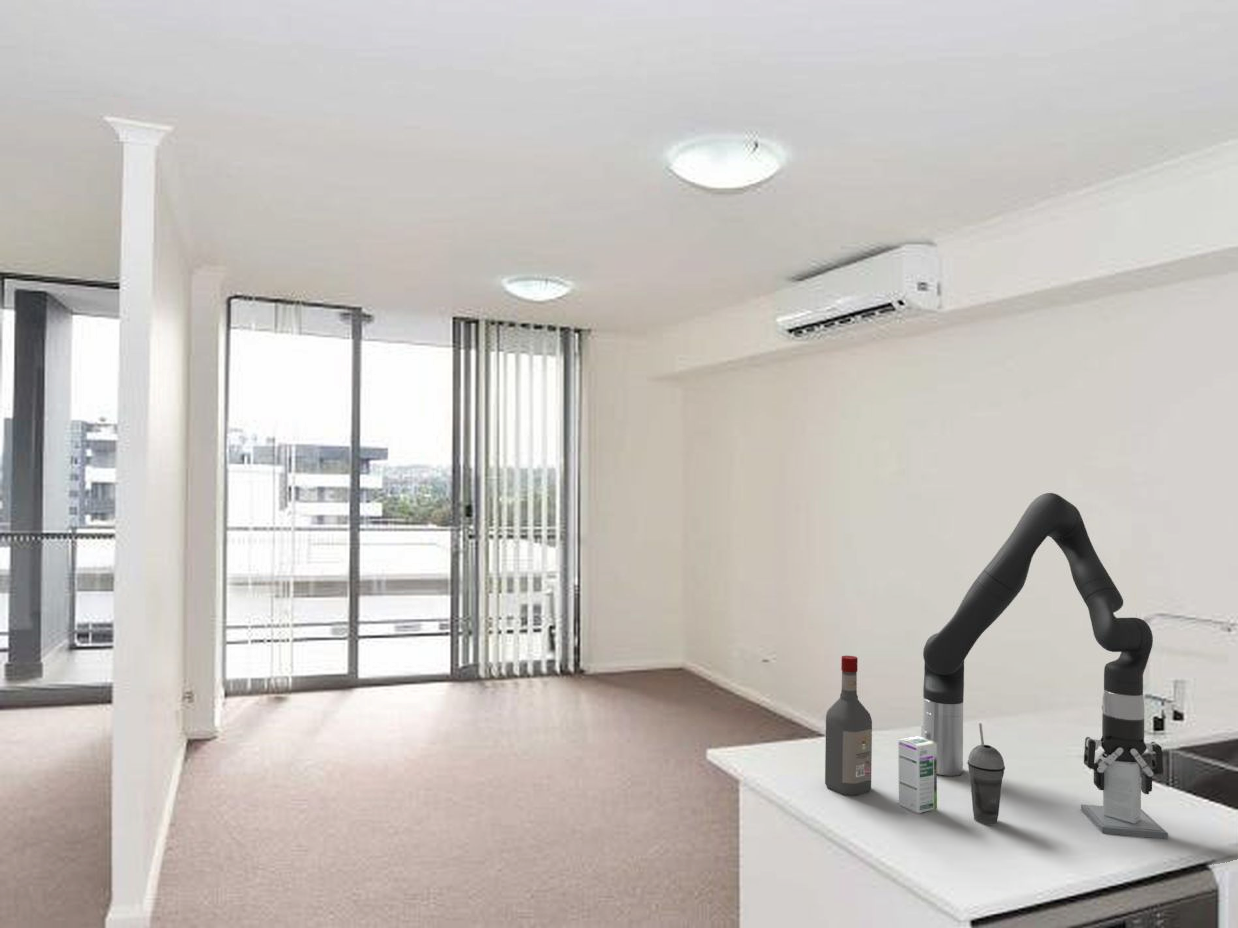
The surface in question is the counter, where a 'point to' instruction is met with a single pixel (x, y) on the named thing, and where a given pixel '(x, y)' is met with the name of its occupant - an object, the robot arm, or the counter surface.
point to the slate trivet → (1124, 824)
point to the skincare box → (1122, 791)
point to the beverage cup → (985, 781)
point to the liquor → (848, 738)
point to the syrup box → (917, 774)
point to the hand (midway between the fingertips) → (1122, 790)
